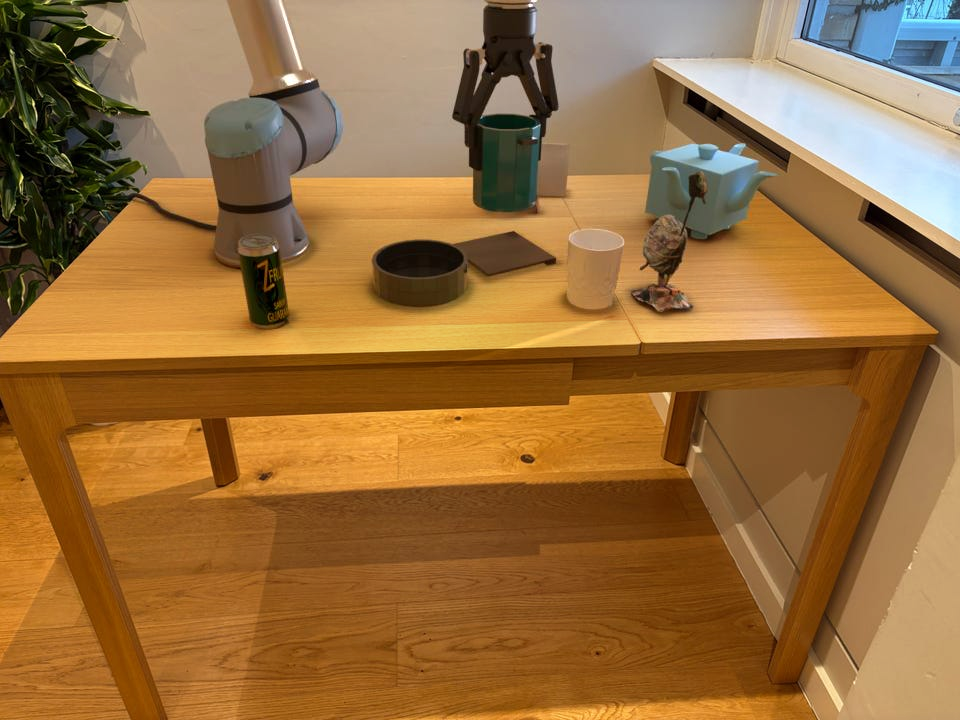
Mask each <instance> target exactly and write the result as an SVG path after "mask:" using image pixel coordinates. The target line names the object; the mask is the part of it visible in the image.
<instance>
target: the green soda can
mask: <svg viewBox="0 0 960 720" xmlns="http://www.w3.org/2000/svg"><path fill="white" fill-rule="evenodd" d="M238 256H239V262H240V267H241V268H240V271H241V278H242V284H243V288H244V295H245V300H246V306H247V311H248V316H249V321H250V322H251V323H252V325H253V326H254V327H255V328H257V329H259V330H260V329H261V330H274V329H278V328H280V327H282V326H284V325H285V324H287V322H288V320H289V317H290V311H289V304H288V303H289V302H288V298H287V297H288V296H287V290H286V289H287V288H286V283H285V276H284V269H283V263H282V261H281V254H280V247H279V244H278V243H277V239H276V237H275V236H273V235H270V234H253V235H248V236H245V237H243V238H241V239H240V240H239V241H238Z"/></svg>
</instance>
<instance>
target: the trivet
mask: <svg viewBox="0 0 960 720" xmlns="http://www.w3.org/2000/svg"><path fill="white" fill-rule="evenodd" d="M452 244H453V245H455V246H458V247H459V248H461V249H462V250H463V251H465V253H466V254H467V256H468V264H471V265H472V266H473V267H474V268H476V269H477V270H478V271H480V272H481V273H482V274H484V275H485V276H486V277H488V278H490V277H494V276H498V275H501V274H506V273H510V272H514V271H518V270H522V269H526V268H530V267H534V266H538V265H543V264H544V265H545V266H551V265H555V264H556V263H557V257H556V256H554V255H552V254H551V253H550V252H548V251H547V250H545V249H543V248H541V247H540V246H539V245H537V244H535V243H533V242H532V241H531V240H529V239H527V238H526V237H524V236H523V235H521V234H519V233H518V232H516V231H515V230H511V231H507V232H502V233H497V234H494V235H493V234H492V235H488V236H483V237H479V238H474V239H470V240H465V241H460V242H454V243H452Z"/></svg>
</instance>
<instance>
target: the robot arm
mask: <svg viewBox="0 0 960 720" xmlns="http://www.w3.org/2000/svg"><path fill="white" fill-rule="evenodd" d="M483 1H484V3H486V4H487V5H485V6H484V8H483V9H482V11H483V13H482V34H483V38H484V40H483V43H482V46H481V48H476V49H472V48H468V47H466V48H465V49H464V50H463V53H462V55H463V56H462V57H463V68H462V73H461V76H460V81H459V85H458V90H457V93H456V98H455V102H454V106H453V111H452V115H451V118H452V120H453V121H455V122H458V123H460V124H461V125H463V127H464V129H463V130H464V131H463V133H464V134H463V135H464V136H463V137H464V140H463V141H464V142H463V143H464V146H465V147H466V148H468V167H469V168H471V169H472V170H473V169H475V170H476V171H482V136H483V127H482V126H480V125H478V122H479V120H480V118H481V116H482V115H484V112H485V109H486V107H487V106H488V103H489V101H490V99H491V97H492V95H493V93H494V90H495V88H496V86H497V85H498V84H500V82H501V80H502V78H508V77H511V76H514V77H517V78H518V79H519V81H520V84H521V86H522V88H523V91H524V93H525V95H526V97H527V100H528V102H529V104H530V106H531V108H532V110H533V113H534V114H533V113H532V114H529V115H528V116H531V117H533V118H536V119H538V120H539V121H540V141H539V159H538V161H540V160H541V146H542V143H543V141H542V140H543V138H545V137H546V134H547V121H548V119H550V118H551V117H552V115H553V112H558V110H559V108H560V104H559V97H558V93H557V86H556V82H555V81H556V80H555V75H554V70H553V63H552V60H553V49H554V47H553V45H552V44H549V43H545V42H541V41H539V42H538V43H536V42H535V35H536V34H537V22H538V21H537V20H538V9H537V8H536V7H535V6H534V4H536V3H537V2H538V0H483ZM226 2H227V6H228V8H229V12H230V15H231V17H232V20H233V24H234V27H235V29H236V32H237V36H238V38H239V41H240V44H241V47H242V50H243V54H244V56H245V59H246V63H247V65H248V68H249V72H250V74H251V77H252V85H251V86H250V89H249V91H248V97H243V98H239V99H237V100H229V101H226V102H223V103H220V104H218V105H216V106H215V107H213V108H211V109H210V110H209V111H208V112H207V114H206V116H205V118H204V121H203V128H204V135H205V136H204V144H205V148H206V150H207V155H208V161H209V166H210V171H211V175H212V180H213V185H214V191H215V195H216V201H217V207H218V213H217V214H218V215H217V221H216V224H209V223H205V222H201V221H198V220H194V219H192V218H188V217H185V216H181V215H179V214H175V213H173V212H171V211H168V210H166V209H164V208H162V207H161V206H160V204H159V203H158V202H157V201H155V200H154V199H152V198H150V197H148V196H145V195H143V194H142V193H138V192H132V193H130V194H128V196H127V197H126V200H127V201H132V200H133V199H135V198H136V199H140V200H142V201H144V202H146V203H148V204H150V205H152V206H153V207H154V209H155V210H156V211H157V212H159V213H160V214H162V215H164V216H166V217H168V218H171V219H173V220H177V221H180V222H182V223H186V224H189V225H191V226H194V227H198V228H202V229H205V230H210V231H215V234H214V240H213V246H214V247H213V249H214V253H215V257H216V259H217V261H218V262H220V263H221V264H223V265H226V266H228V267H232V268H237V269H241V267H240V262H239V256H238V241H239V240H240V239H241V238H243V237H245V236H248V235H253V234H270V235H273V236H275V237H276V239H277V243H278V244H279V247H280V254H281V261H282V264H285V263H288V262H292V261H295V260H297V259H298V258H300V257H302V256H303V255H305V254H306V253H307V252H308V250H309V249H310V247H311V244H310V237H309V234H308V231H307V229H306V227H305V224H304V223H303V221H302V219H301V216H300V214H299V212H298V210H297V208H296V206H295V204H294V200H293V192H292V184H291V183H292V182H291V176H293V175H295V174H297V173H299V172H300V171H302V170H304V169H307V168H309V167H310V166H313V165H316V164H318V163H321V162H322V161H323V160H325V159H326V158H327V157H328V156H330V155H331V154H332V153H333V152H334V151H335V150H336V149H337V147H338V145H339V143H340V142H341V139H342V137H343V136H342V135H343V130H344V124H343V123H344V122H343V117H342V112H341V110H340V108H339V106H338V103H337V102H336V101H335V100H334V98H333V97H331V96H329V94H328V92H326V91H324V90H322V89H321V86H320V83H319V79H318V77H317V75H315V74H314V73H312V72H311V71H309V70H308V69H306V66H305V65H304V61H303V59H302V55H301V52H300V49H299V46H298V42H297V39H296V36H295V31H294V28H293V25H292V22H291V18H290V15H289V13H288V9H287V5H286V3H285V0H226ZM533 57H534V58H535V66H536V73H537V77H538V82H539V84H538V83H537V80H536V77H535V72H534V69H533V67H532V64H531V61H532V58H533ZM483 60H484V61H485V66H483V67H484V68H483V70H482V71H481V74H480V67H481V65H483ZM479 75H480V76H481V79H480V81H479V82H478V78H479ZM477 82H478V85H477ZM476 86H477V87H476Z"/></svg>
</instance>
